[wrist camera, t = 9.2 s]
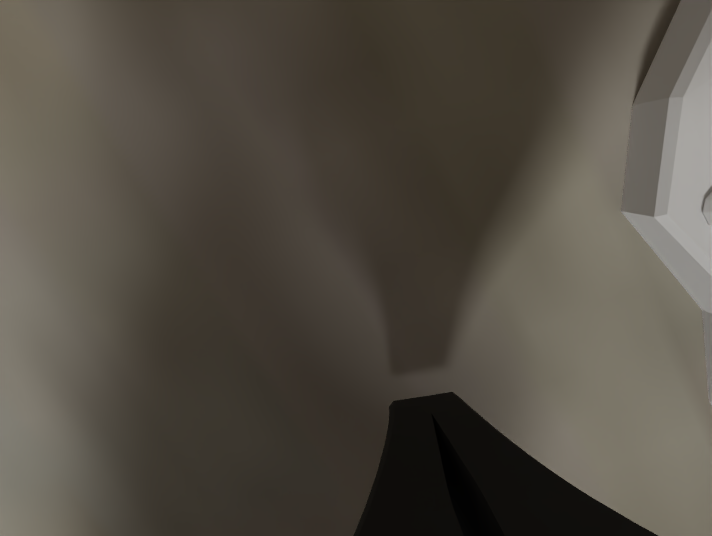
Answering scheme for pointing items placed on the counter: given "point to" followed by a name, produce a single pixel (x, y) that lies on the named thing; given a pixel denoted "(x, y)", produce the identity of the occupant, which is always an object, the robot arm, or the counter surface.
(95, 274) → the counter surface
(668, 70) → the lid
